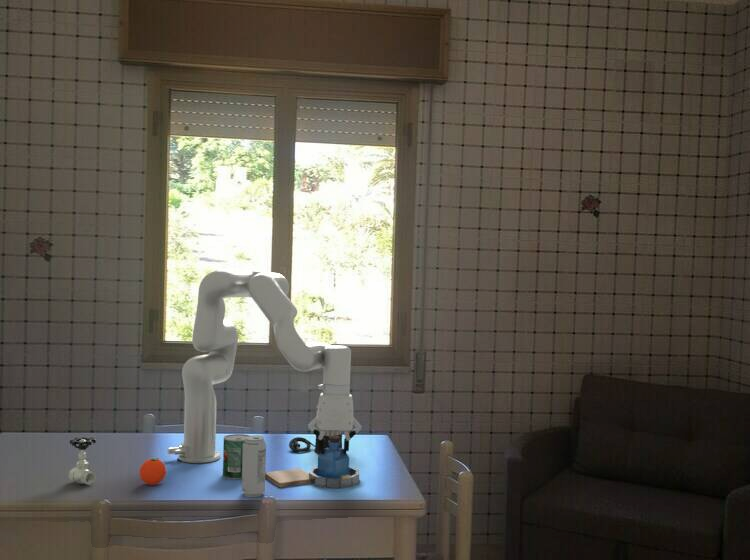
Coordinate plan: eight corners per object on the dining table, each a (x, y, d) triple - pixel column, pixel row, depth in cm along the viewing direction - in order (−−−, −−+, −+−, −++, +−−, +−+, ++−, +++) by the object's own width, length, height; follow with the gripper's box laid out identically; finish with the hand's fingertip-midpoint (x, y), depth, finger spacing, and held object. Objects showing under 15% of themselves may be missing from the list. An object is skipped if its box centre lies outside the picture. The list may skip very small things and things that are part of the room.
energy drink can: (247, 489, 200) (249, 434, 200) (268, 492, 199) (269, 436, 198) (237, 496, 195) (238, 439, 194) (258, 499, 193) (260, 441, 192)
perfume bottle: (333, 484, 207) (335, 441, 206) (317, 479, 211) (318, 436, 210) (348, 479, 212) (349, 437, 211) (332, 474, 216) (333, 433, 215)
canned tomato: (220, 472, 215) (220, 434, 215) (246, 470, 218) (247, 433, 218) (225, 480, 208) (226, 441, 208) (253, 478, 211) (254, 439, 211)
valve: (79, 489, 197) (80, 443, 197) (63, 484, 200) (64, 440, 200) (100, 483, 202) (101, 439, 202) (84, 478, 206) (85, 435, 206)
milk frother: (348, 453, 241) (349, 407, 241) (305, 459, 232) (306, 412, 232) (326, 443, 253) (327, 400, 252) (284, 449, 244) (285, 404, 244)
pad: (279, 487, 203) (279, 483, 203) (264, 476, 213) (264, 472, 213) (315, 482, 209) (315, 478, 209) (299, 472, 218) (299, 468, 218)
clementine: (145, 479, 207) (146, 453, 207) (170, 479, 207) (170, 454, 207) (135, 487, 199) (135, 461, 199) (161, 488, 199) (161, 462, 199)
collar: (323, 490, 201) (323, 479, 201) (301, 476, 214) (301, 466, 213) (368, 484, 208) (368, 473, 208) (344, 471, 221) (344, 460, 221)
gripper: (304, 391, 206) (302, 455, 207) (367, 393, 207) (364, 457, 208) (306, 386, 214) (304, 448, 214) (366, 388, 214) (363, 450, 215)
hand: (333, 452), depth 211 cm, fingers closed on perfume bottle, 5 cm apart
